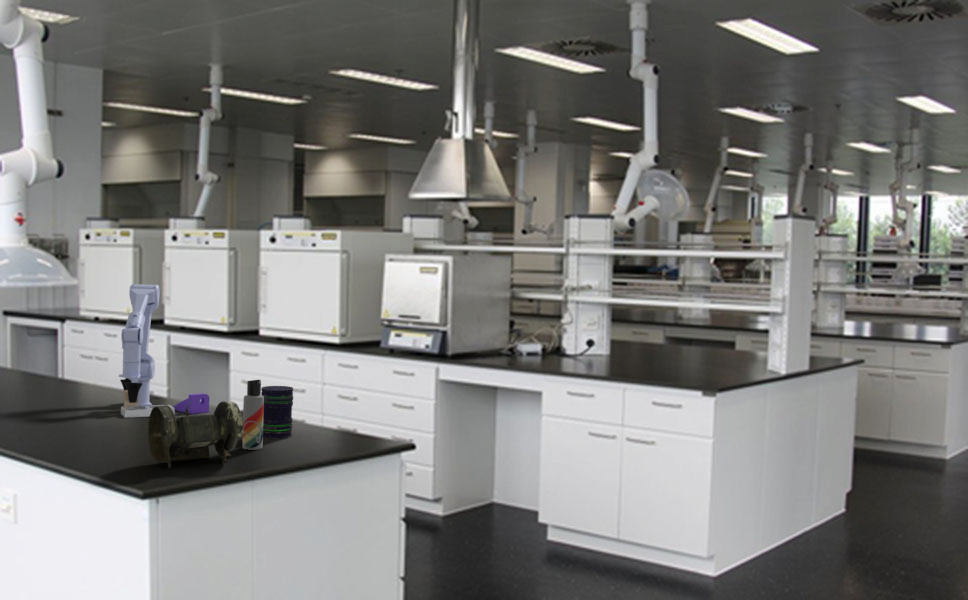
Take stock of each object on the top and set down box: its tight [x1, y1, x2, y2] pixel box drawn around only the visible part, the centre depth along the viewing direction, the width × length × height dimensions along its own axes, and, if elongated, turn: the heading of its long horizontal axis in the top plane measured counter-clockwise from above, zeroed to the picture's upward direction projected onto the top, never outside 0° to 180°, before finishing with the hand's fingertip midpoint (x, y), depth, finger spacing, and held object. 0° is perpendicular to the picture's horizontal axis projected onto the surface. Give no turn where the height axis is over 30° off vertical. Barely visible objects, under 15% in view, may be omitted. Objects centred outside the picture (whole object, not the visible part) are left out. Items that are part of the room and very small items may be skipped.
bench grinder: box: [147, 400, 244, 469], centre depth 251 cm, size 20×22×20 cm
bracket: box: [173, 392, 210, 415], centre depth 333 cm, size 12×7×7 cm, turn 47°
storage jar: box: [261, 385, 294, 440], centre depth 292 cm, size 10×10×15 cm
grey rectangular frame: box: [120, 404, 176, 419], centre depth 321 cm, size 8×16×2 cm, turn 120°
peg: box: [123, 389, 138, 407], centre depth 327 cm, size 4×4×7 cm
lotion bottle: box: [241, 379, 264, 451], centre depth 272 cm, size 6×6×20 cm
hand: (130, 401), depth 327 cm, fingers open, 7 cm apart
